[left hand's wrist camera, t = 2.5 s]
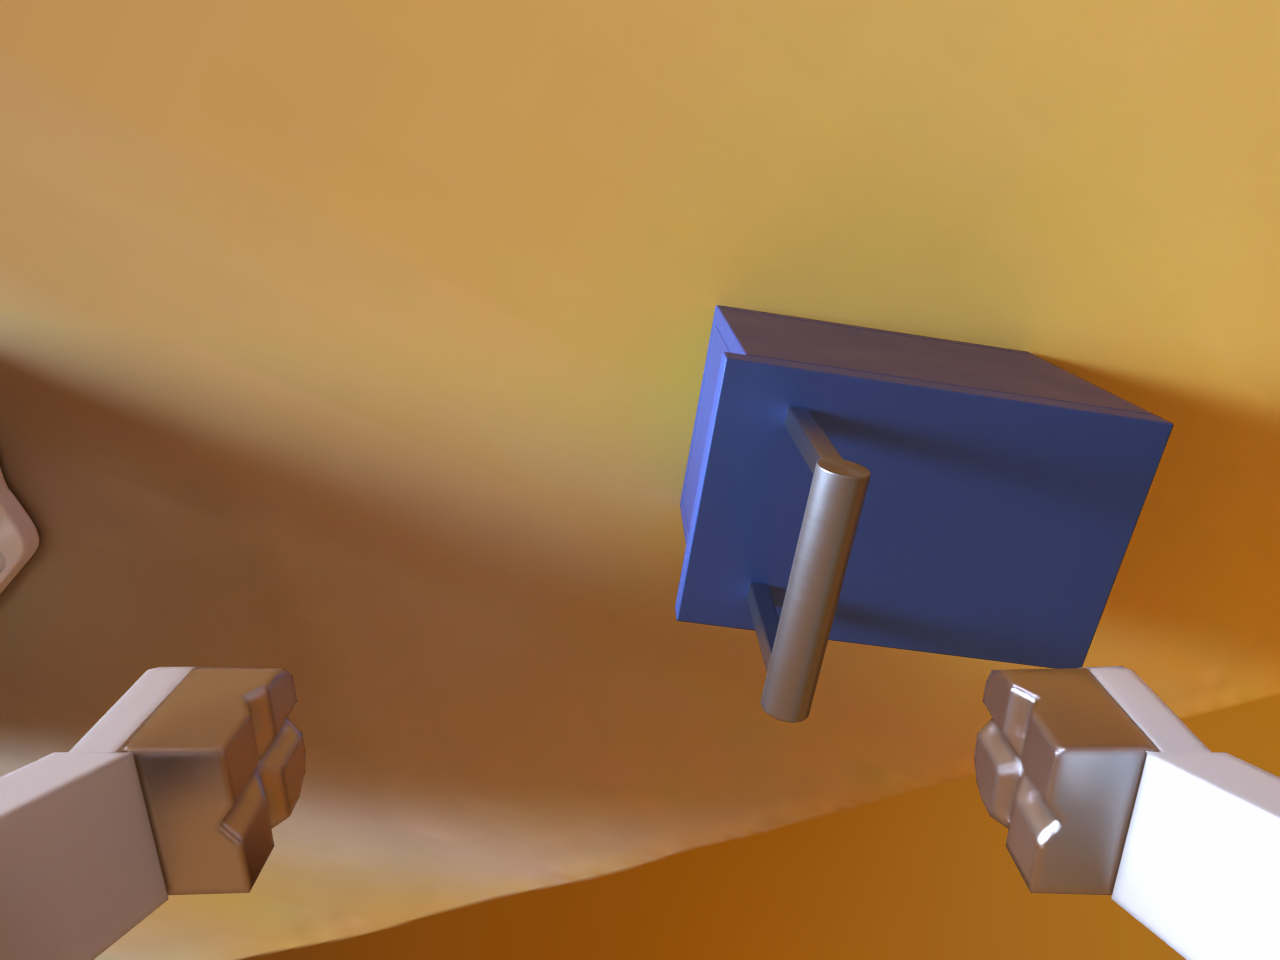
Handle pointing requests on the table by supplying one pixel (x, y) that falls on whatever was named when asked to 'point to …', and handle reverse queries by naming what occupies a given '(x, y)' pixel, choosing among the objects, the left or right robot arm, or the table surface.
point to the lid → (907, 518)
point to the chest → (876, 367)
